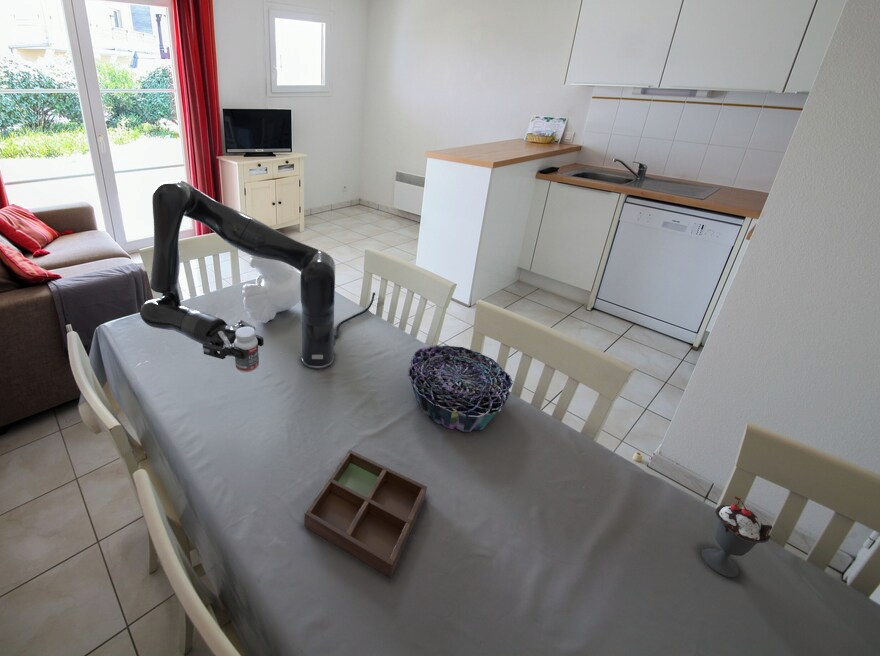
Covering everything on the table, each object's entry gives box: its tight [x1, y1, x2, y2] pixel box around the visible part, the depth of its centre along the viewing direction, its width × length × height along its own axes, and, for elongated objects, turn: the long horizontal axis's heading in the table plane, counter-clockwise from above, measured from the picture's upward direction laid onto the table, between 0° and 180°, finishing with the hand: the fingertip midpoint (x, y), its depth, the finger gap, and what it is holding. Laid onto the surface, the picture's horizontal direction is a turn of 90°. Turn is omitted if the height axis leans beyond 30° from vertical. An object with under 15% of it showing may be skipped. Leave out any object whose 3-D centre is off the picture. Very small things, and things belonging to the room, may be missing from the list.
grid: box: [304, 449, 428, 579], centre depth 82 cm, size 17×17×3 cm
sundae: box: [701, 496, 773, 578], centre depth 72 cm, size 7×7×15 cm
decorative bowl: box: [407, 344, 514, 433], centre depth 110 cm, size 26×28×10 cm
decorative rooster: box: [241, 255, 301, 324], centre depth 148 cm, size 25×16×25 cm
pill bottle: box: [233, 327, 260, 373], centre depth 104 cm, size 6×6×10 cm
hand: (254, 348), depth 102 cm, fingers closed on pill bottle, 5 cm apart
